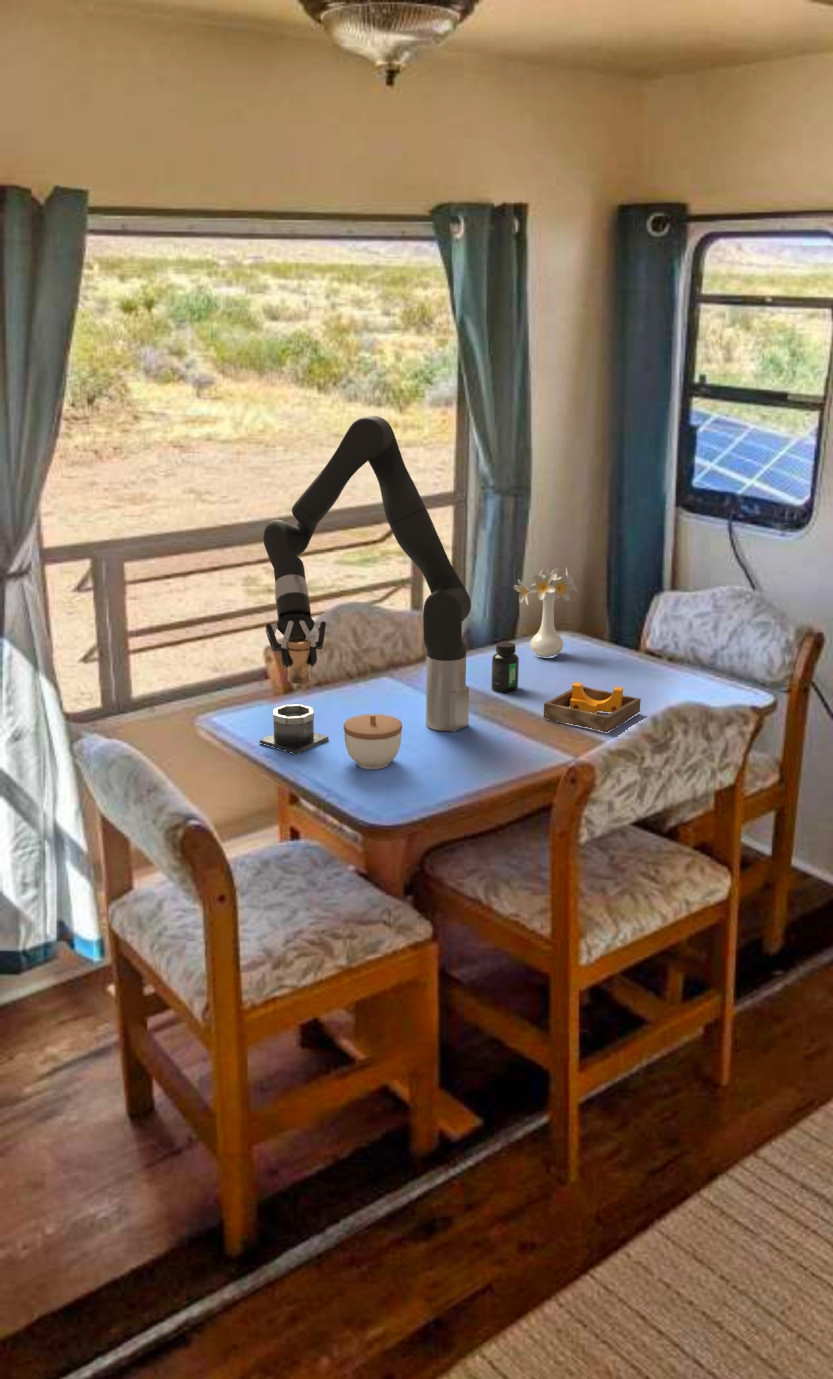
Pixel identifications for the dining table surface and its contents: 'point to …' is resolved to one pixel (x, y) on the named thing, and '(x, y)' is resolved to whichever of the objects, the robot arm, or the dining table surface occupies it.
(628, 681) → the dining table surface
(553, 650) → the flower vase
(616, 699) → the pipe clamp
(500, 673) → the supplement bottle
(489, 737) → the dining table surface
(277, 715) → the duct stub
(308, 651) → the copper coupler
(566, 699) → the hardware corral
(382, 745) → the lidded bowl
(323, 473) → the robot arm
